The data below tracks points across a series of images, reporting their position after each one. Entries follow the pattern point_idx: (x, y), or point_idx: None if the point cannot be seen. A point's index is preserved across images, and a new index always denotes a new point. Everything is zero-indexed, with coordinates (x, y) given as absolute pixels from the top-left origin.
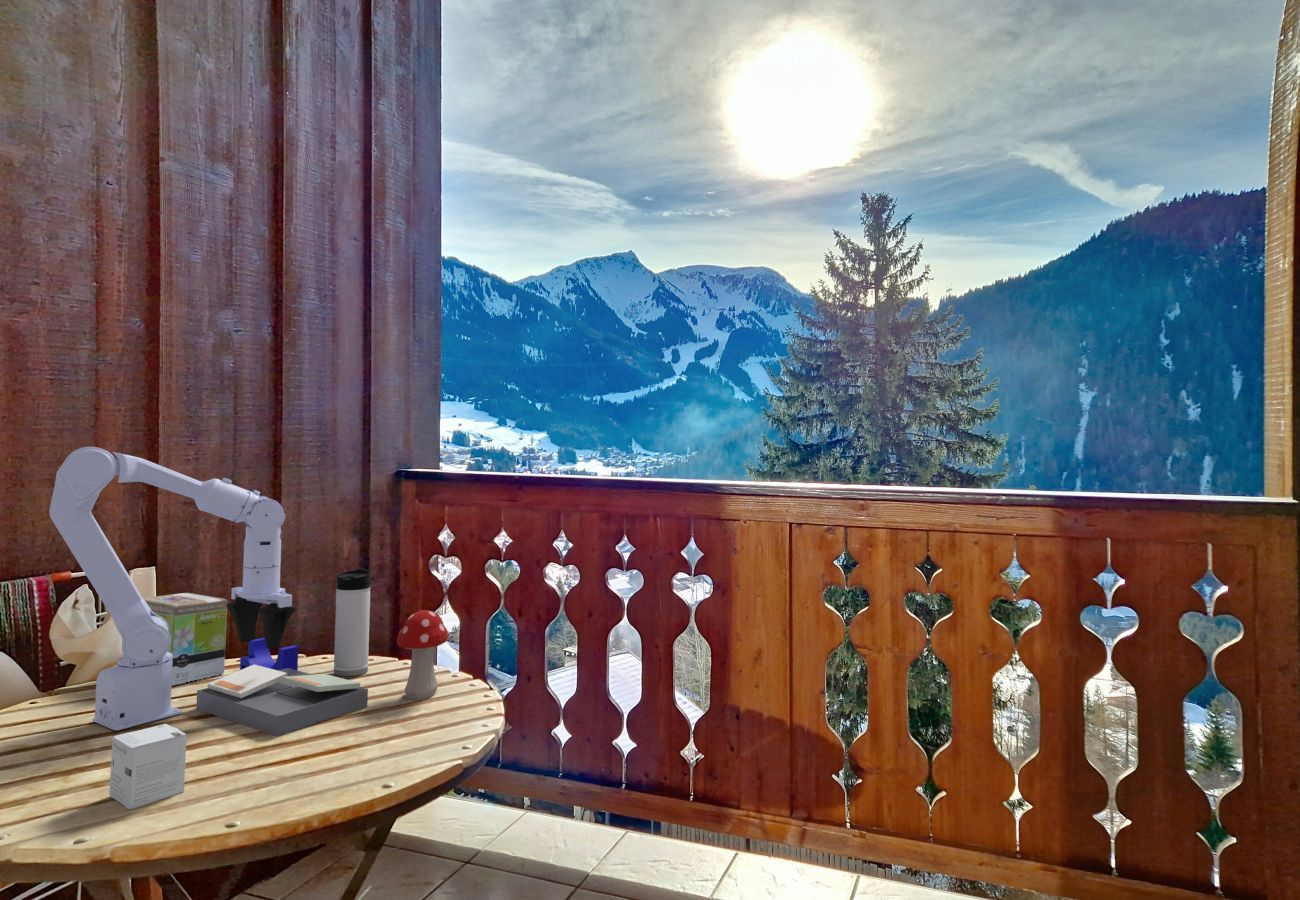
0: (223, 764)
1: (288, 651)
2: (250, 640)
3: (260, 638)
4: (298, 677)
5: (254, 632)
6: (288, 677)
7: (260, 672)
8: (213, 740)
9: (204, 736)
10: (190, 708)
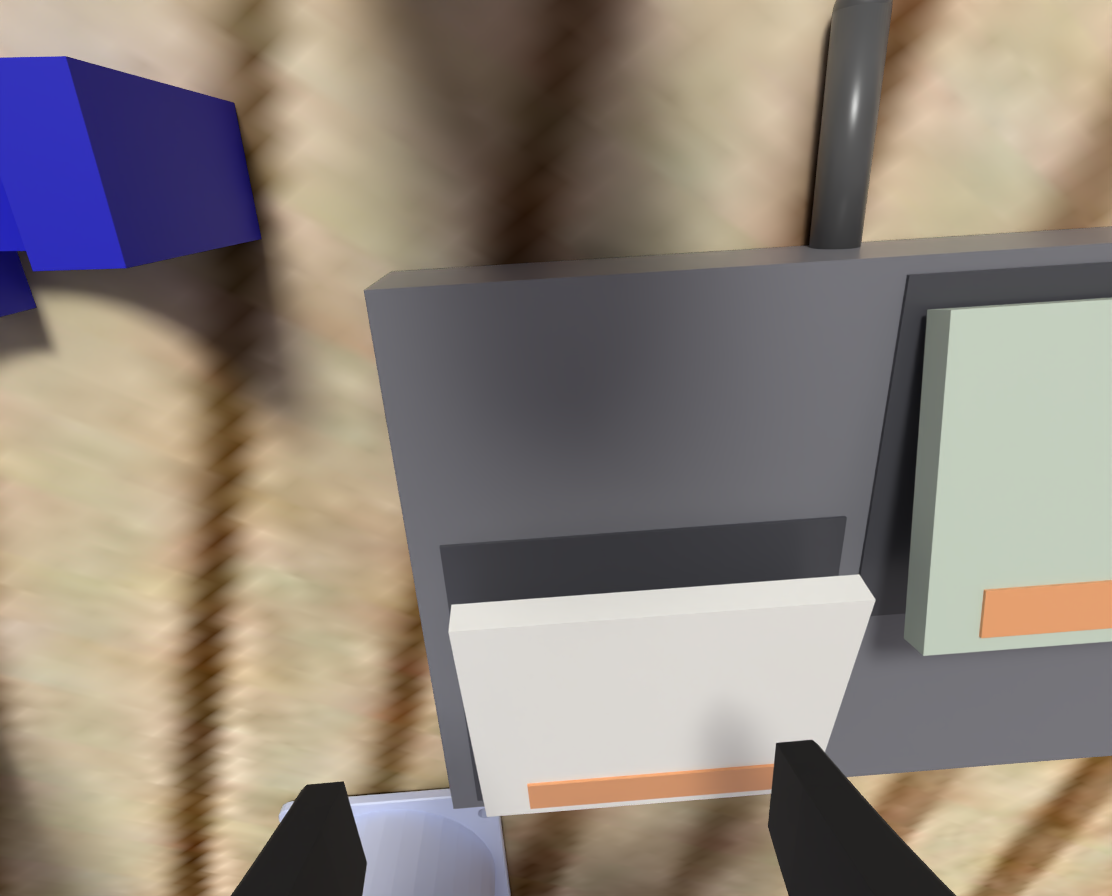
0: (1092, 850)
1: (124, 198)
2: (350, 810)
3: None
4: (989, 572)
5: (312, 858)
6: (962, 633)
7: (656, 665)
8: (882, 806)
9: None
10: (434, 740)
